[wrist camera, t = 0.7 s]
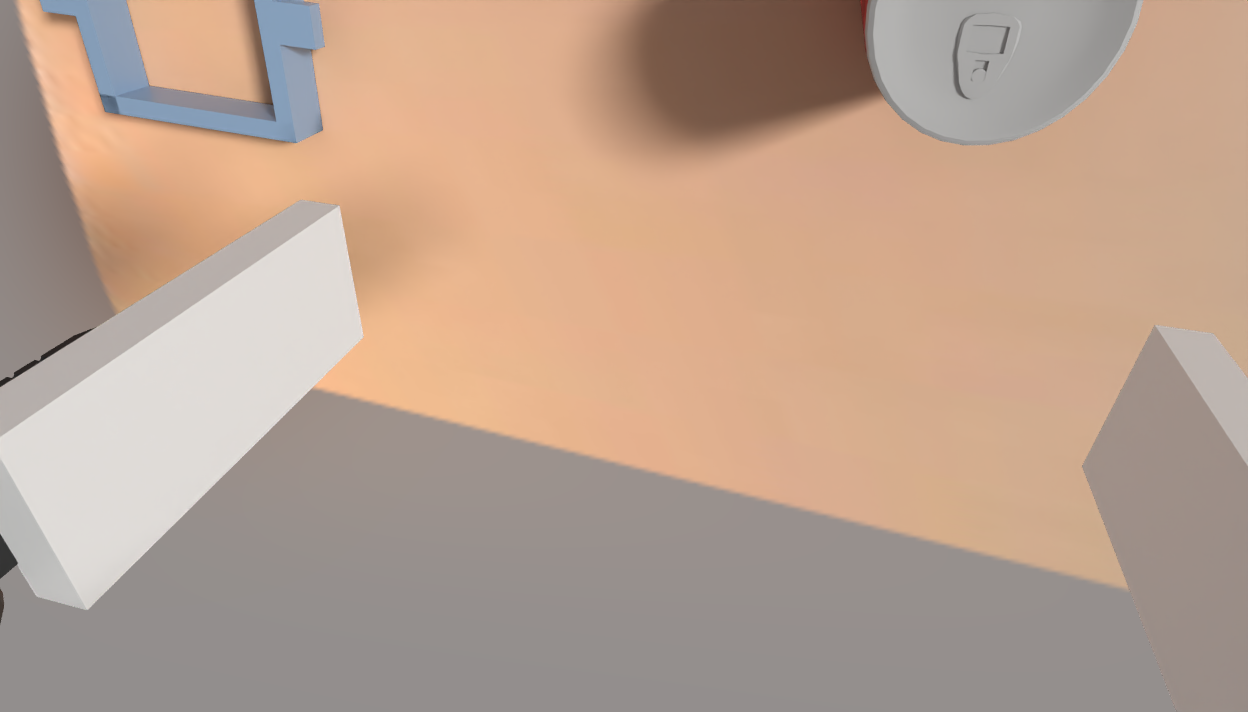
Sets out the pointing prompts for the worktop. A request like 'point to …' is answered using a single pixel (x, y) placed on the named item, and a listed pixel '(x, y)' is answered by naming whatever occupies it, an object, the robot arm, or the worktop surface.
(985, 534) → the worktop surface
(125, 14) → the divided frame
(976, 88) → the canned food
